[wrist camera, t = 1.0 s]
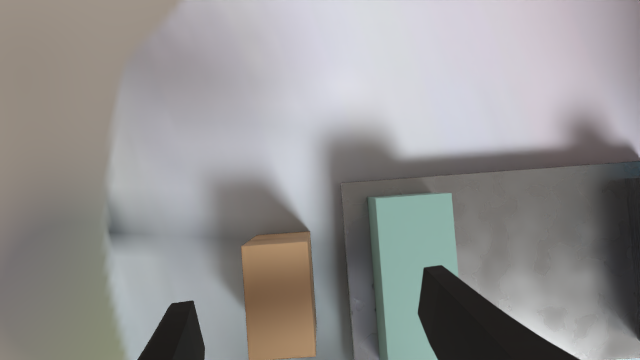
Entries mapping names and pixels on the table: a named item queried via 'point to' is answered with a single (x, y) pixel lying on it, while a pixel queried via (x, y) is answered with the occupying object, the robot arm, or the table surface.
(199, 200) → the table surface
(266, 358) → the walnut block
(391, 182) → the vise
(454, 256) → the block
